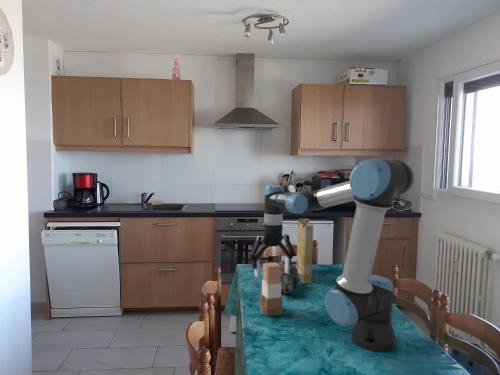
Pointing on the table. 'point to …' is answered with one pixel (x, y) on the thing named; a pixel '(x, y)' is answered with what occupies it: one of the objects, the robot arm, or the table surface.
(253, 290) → the table surface
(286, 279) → the rock
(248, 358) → the table surface
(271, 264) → the terracotta block
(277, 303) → the walnut base cube
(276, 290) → the cream top cube
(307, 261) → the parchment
